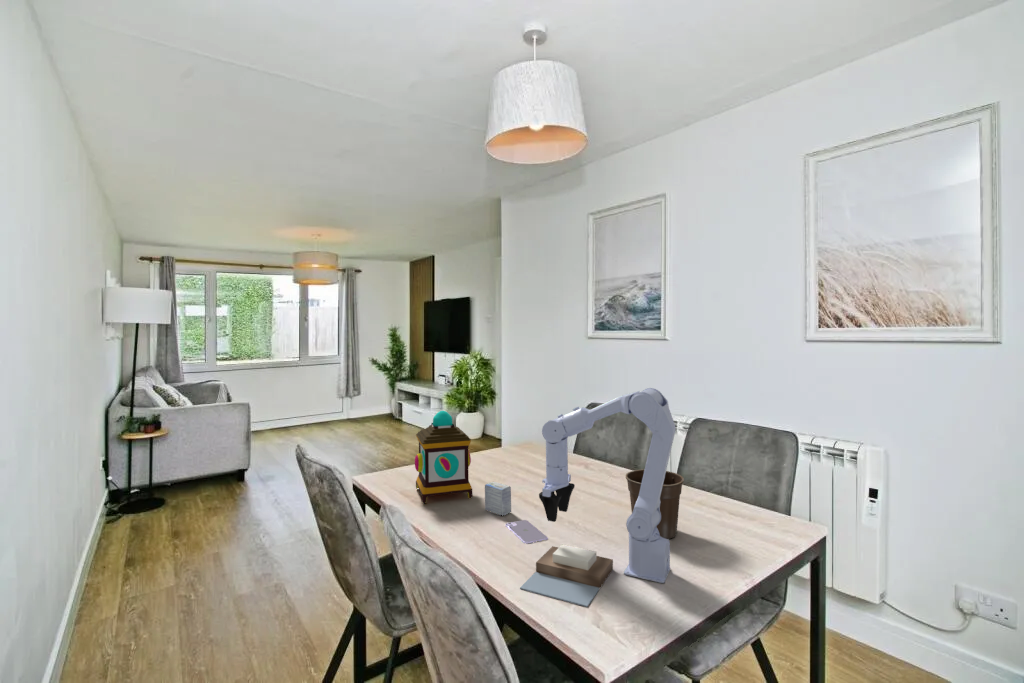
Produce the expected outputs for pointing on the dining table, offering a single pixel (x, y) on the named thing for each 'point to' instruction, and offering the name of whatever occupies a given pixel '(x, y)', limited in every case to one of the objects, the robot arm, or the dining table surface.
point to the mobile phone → (526, 531)
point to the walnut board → (575, 569)
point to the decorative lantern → (442, 458)
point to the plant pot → (667, 498)
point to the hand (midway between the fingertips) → (557, 515)
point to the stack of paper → (498, 498)
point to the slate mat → (560, 589)
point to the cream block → (574, 557)
